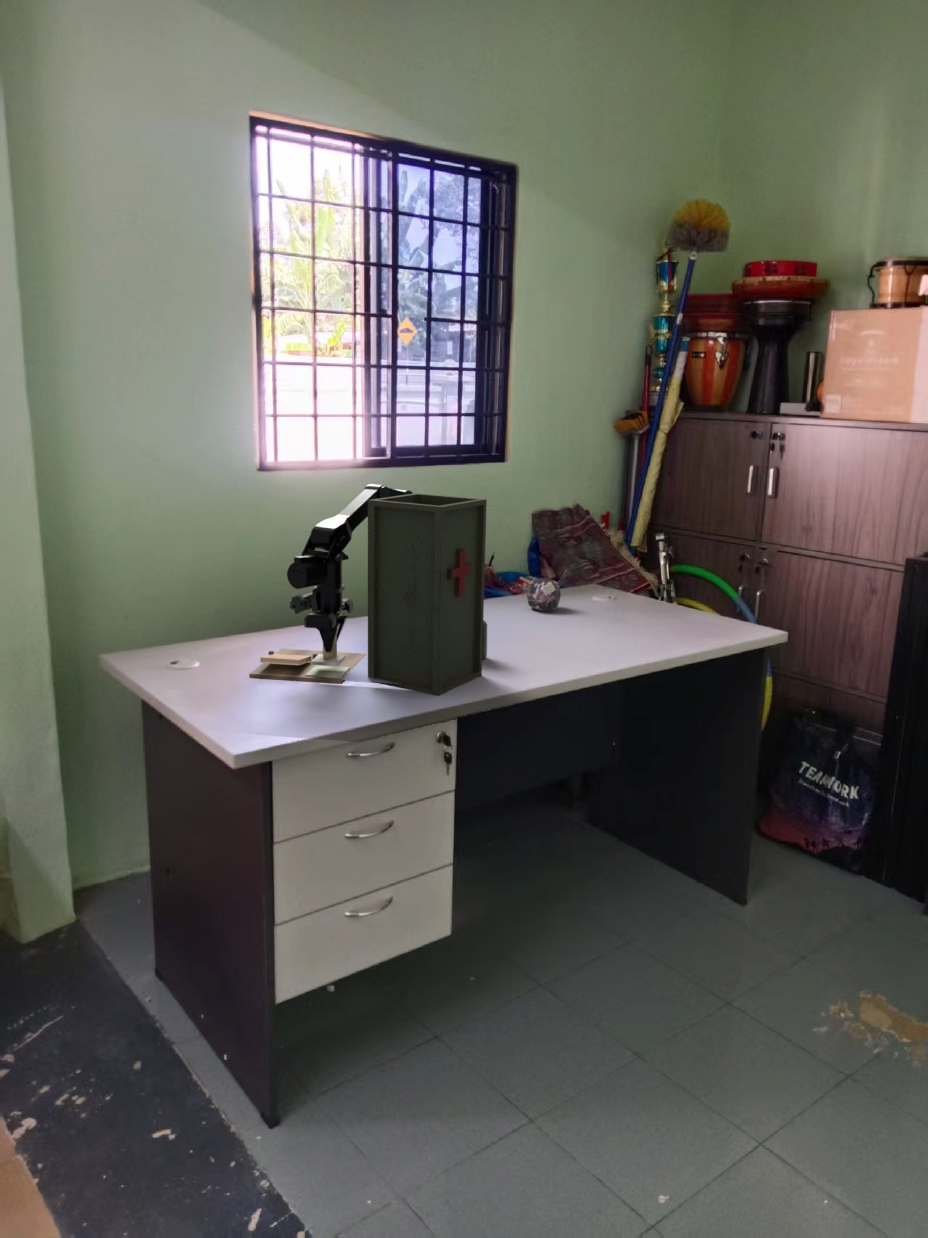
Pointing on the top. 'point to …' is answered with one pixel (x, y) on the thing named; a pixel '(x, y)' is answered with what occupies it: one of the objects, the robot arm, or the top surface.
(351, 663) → the board
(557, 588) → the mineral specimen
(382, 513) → the first aid box
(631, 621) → the top surface
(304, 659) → the tile
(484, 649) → the supplement bottle
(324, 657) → the stamp
